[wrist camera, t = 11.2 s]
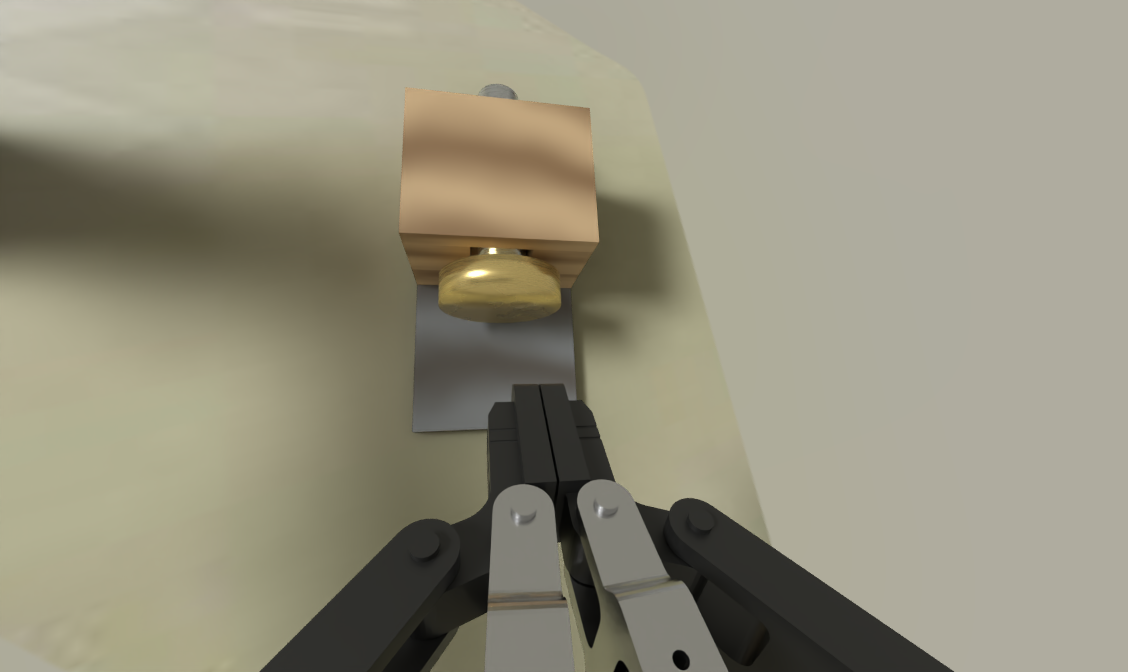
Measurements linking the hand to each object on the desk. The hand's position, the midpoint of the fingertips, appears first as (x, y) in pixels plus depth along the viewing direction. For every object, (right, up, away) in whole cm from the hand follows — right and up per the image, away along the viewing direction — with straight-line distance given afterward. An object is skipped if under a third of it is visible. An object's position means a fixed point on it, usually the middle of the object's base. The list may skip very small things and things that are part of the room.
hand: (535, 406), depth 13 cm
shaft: (-4, +11, +21) cm, 24 cm away
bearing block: (-5, +5, +22) cm, 23 cm away
